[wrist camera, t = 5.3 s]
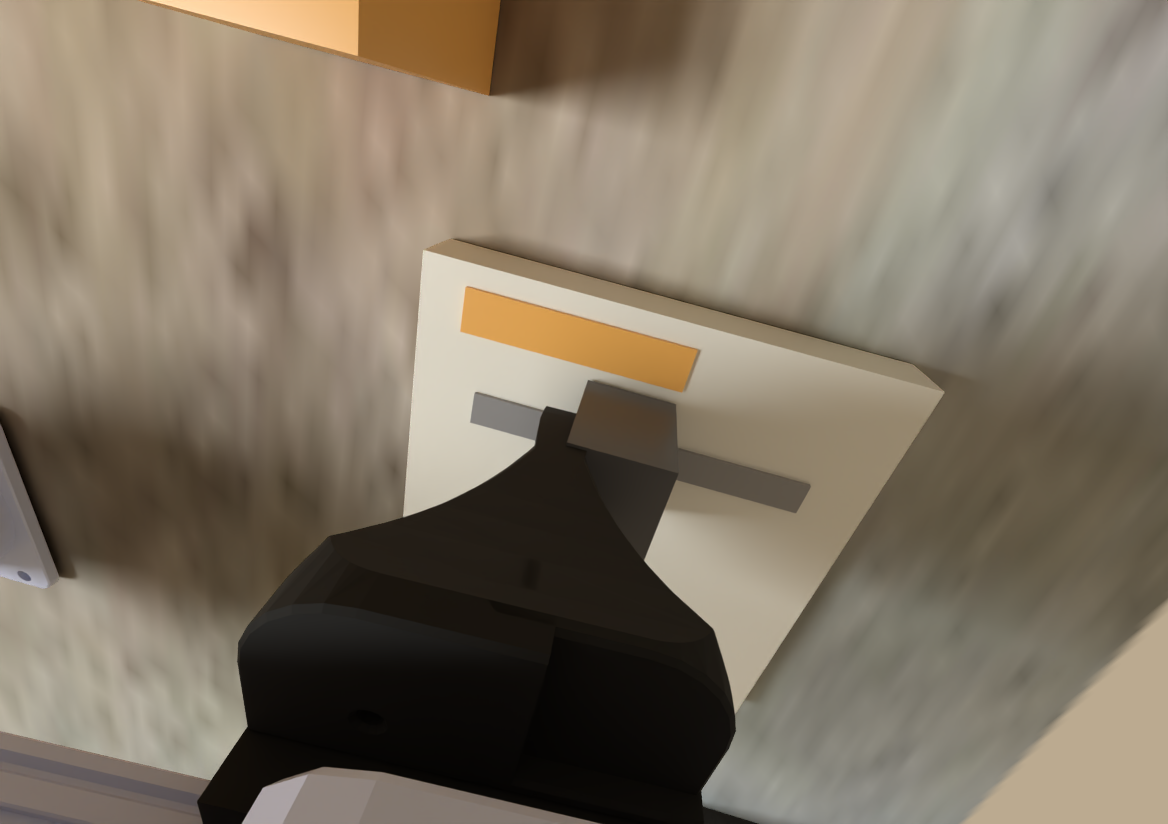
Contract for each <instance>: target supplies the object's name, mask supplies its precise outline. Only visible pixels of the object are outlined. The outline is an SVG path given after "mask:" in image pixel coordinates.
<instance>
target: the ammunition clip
mask: <svg viewBox="0 0 1168 824" xmlns="http://www.w3.org/2000/svg"><path fill="white" fill-rule="evenodd" d="M703 816H704V824H757V823H754V822H751V821H747V820H744V819H741V818H738V817H734V816H731V815H728V814H725V813H721V812H718V811H715V810H712V809H708V808H705V807H703Z"/></svg>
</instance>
